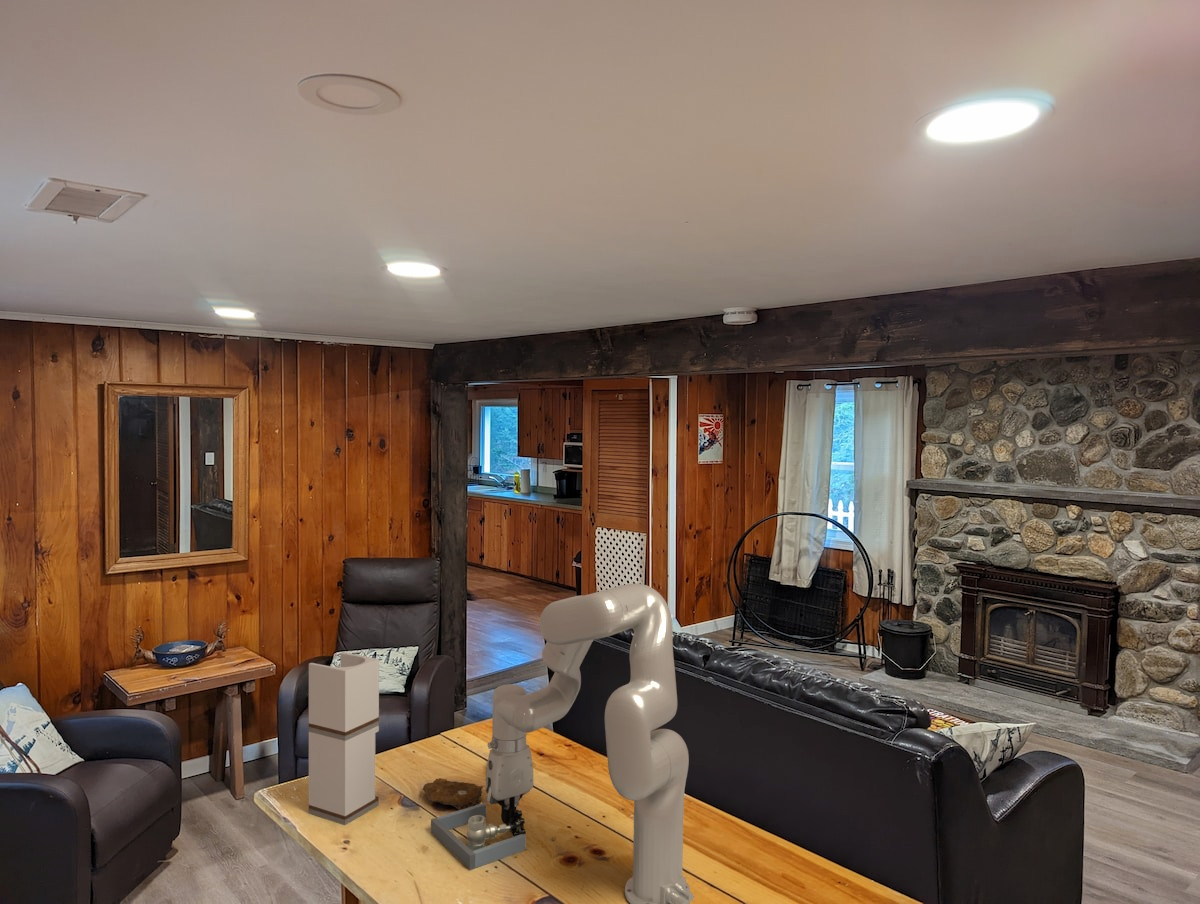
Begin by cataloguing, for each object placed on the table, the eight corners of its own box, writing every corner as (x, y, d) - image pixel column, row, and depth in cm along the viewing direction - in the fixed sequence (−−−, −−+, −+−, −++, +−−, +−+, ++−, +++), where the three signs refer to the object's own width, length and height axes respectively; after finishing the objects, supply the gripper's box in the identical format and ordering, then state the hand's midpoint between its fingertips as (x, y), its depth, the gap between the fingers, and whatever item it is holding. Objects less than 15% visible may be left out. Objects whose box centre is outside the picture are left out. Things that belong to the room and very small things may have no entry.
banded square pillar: (378, 805, 187) (378, 659, 186) (345, 825, 177) (345, 671, 176) (343, 794, 192) (343, 652, 191) (308, 813, 182) (308, 663, 181)
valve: (470, 859, 164) (525, 847, 169) (471, 828, 164) (526, 817, 168) (463, 843, 170) (516, 833, 175) (463, 813, 170) (517, 803, 174)
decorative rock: (410, 809, 186) (469, 819, 183) (410, 792, 186) (470, 802, 182) (431, 785, 197) (487, 794, 194) (431, 770, 197) (488, 778, 193)
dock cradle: (525, 849, 168) (525, 836, 167) (469, 870, 160) (470, 855, 159) (483, 815, 182) (483, 802, 182) (430, 832, 174) (430, 819, 174)
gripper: (488, 756, 167) (487, 841, 168) (546, 739, 177) (545, 820, 177) (471, 745, 173) (470, 827, 174) (528, 729, 183) (527, 807, 183)
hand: (508, 823), depth 176 cm, fingers closed
